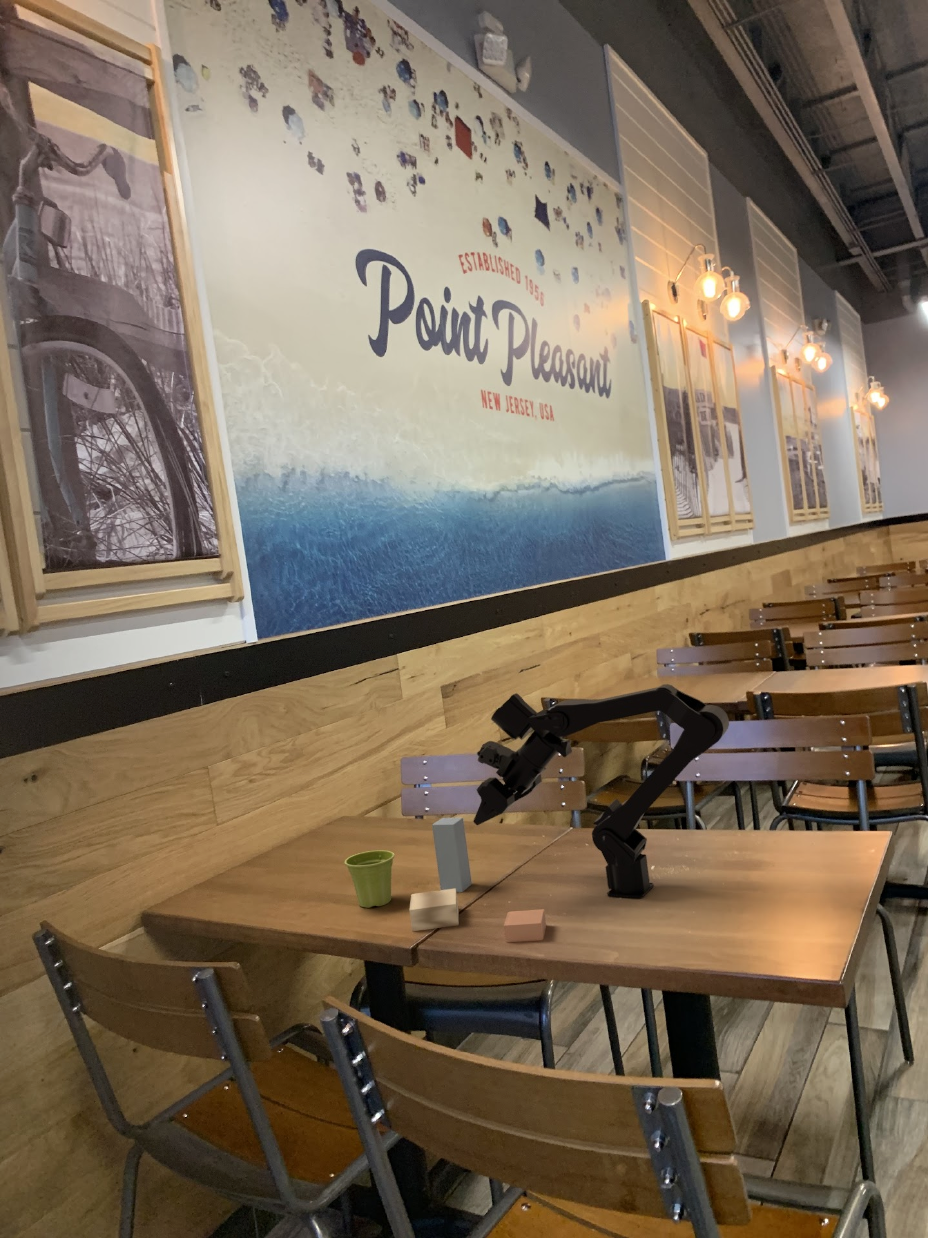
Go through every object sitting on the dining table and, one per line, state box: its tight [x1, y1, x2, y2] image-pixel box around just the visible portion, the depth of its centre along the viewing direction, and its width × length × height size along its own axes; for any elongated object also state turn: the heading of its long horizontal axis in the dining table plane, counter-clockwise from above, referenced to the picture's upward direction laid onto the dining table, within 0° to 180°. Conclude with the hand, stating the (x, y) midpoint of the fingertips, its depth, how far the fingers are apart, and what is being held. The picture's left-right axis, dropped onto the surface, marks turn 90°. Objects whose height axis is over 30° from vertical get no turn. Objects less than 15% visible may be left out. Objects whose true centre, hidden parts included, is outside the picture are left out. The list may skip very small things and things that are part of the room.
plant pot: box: [344, 849, 395, 909], centre depth 175 cm, size 9×9×9 cm
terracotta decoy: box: [503, 908, 547, 943], centre depth 150 cm, size 6×6×3 cm
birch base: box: [409, 888, 460, 932], centre depth 162 cm, size 8×8×4 cm
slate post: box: [431, 817, 473, 893], centre depth 177 cm, size 4×4×13 cm
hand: (485, 816), depth 174 cm, fingers open, 9 cm apart
